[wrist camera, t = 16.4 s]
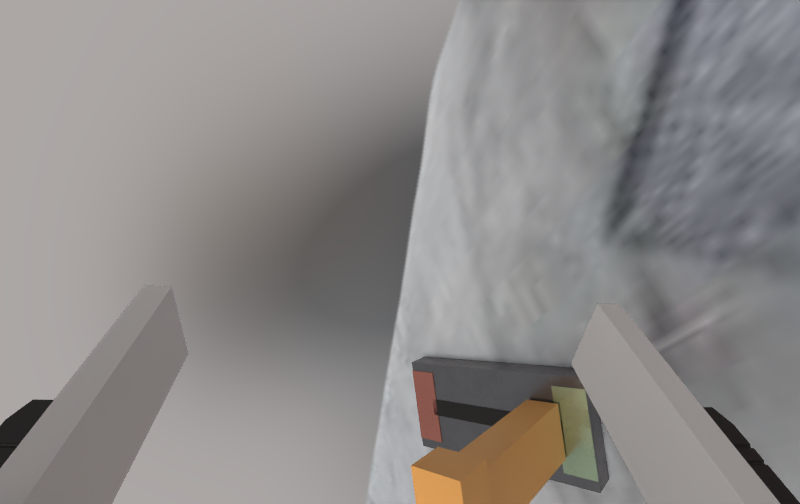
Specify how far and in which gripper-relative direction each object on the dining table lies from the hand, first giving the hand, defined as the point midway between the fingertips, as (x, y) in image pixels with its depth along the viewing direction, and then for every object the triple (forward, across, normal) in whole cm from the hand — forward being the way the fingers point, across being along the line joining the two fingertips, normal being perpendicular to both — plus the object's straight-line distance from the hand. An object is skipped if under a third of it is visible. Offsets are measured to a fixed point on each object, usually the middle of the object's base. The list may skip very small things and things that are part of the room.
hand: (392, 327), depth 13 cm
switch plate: (+18, +15, -27) cm, 36 cm away
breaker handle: (+13, +17, -24) cm, 32 cm away
